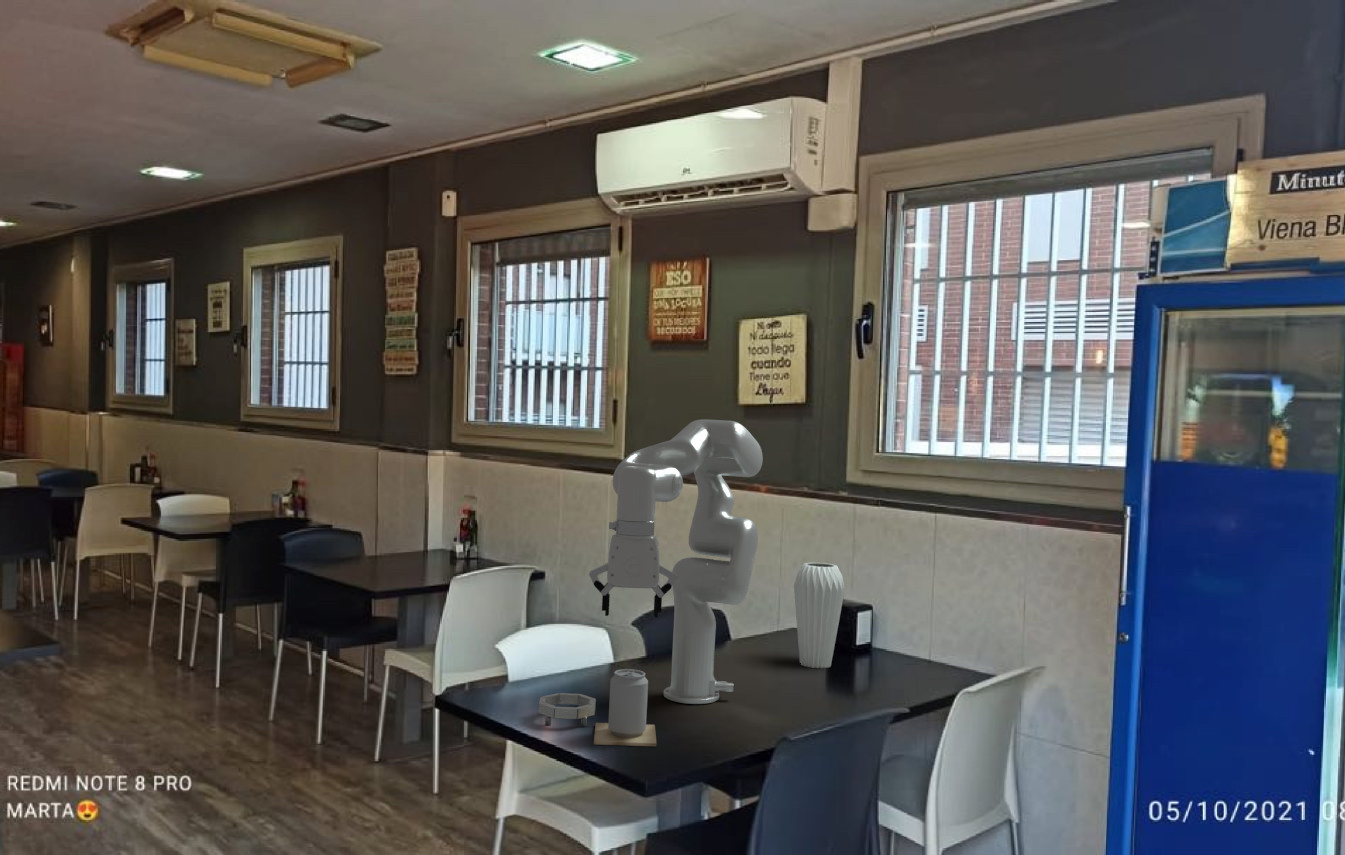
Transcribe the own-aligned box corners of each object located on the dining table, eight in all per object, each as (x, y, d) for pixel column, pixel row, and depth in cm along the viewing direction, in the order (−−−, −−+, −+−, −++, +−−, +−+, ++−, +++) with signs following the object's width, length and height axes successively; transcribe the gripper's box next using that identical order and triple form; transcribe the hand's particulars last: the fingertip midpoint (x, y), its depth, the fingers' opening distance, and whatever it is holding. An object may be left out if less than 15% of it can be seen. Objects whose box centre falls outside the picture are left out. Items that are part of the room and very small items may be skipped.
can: (603, 735, 205) (606, 674, 204) (613, 725, 212) (615, 665, 212) (641, 739, 203) (644, 678, 203) (649, 728, 211) (652, 669, 210)
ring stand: (595, 713, 222) (596, 694, 222) (593, 729, 210) (594, 709, 210) (541, 711, 221) (542, 692, 221) (536, 727, 210) (537, 707, 210)
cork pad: (654, 727, 213) (654, 724, 213) (656, 746, 201) (656, 743, 201) (595, 725, 213) (595, 722, 213) (593, 744, 201) (593, 741, 201)
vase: (805, 656, 285) (810, 559, 284) (849, 665, 277) (854, 565, 277) (780, 664, 274) (785, 564, 274) (826, 673, 266) (831, 570, 266)
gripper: (590, 529, 203) (586, 617, 203) (679, 533, 203) (675, 621, 204) (591, 525, 210) (588, 610, 210) (677, 528, 211) (674, 613, 211)
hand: (631, 615), depth 207 cm, fingers open, 9 cm apart
